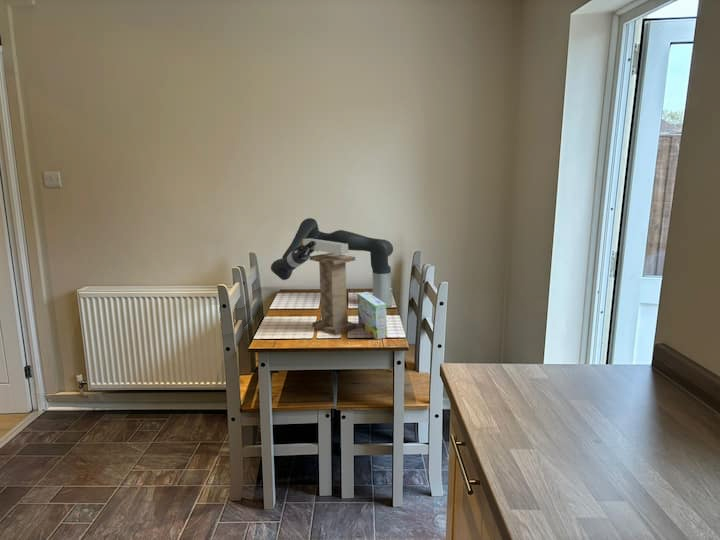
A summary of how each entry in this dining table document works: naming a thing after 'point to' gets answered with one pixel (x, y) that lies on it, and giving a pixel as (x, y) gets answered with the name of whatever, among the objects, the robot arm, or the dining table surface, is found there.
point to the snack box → (372, 315)
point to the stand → (333, 293)
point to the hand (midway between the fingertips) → (317, 241)
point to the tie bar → (327, 246)
